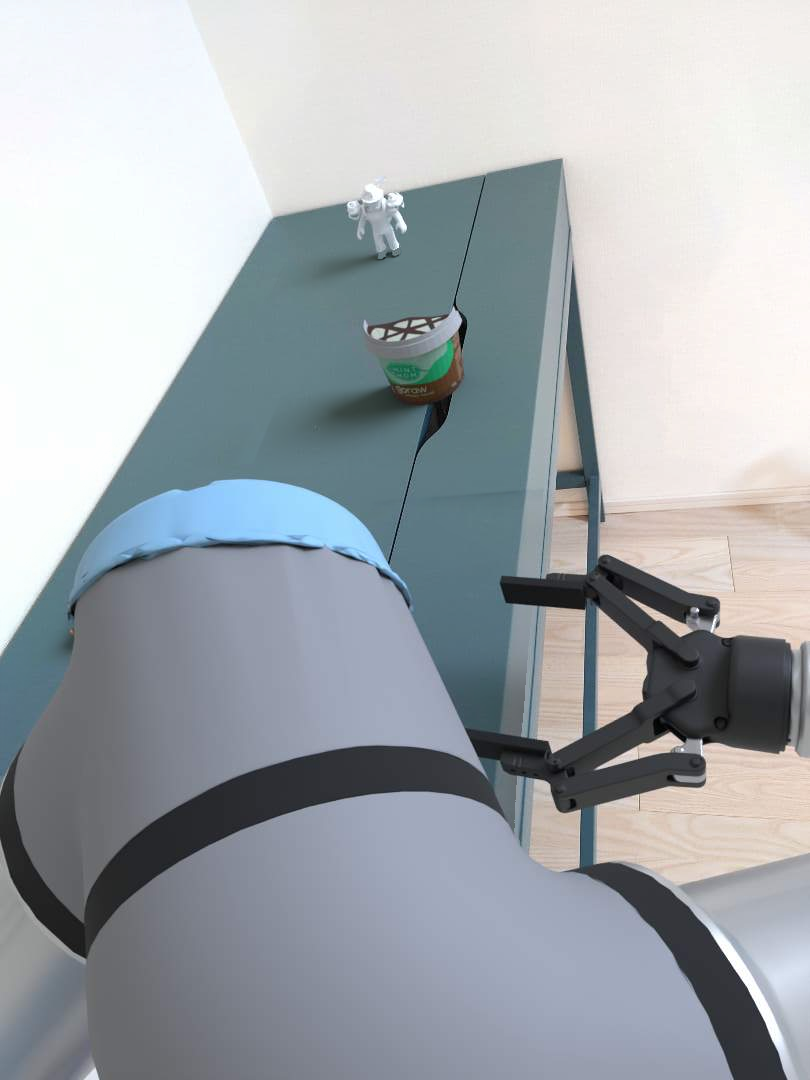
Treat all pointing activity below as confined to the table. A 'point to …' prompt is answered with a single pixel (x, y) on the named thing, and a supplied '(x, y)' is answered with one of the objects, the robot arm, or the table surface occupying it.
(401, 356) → the food container
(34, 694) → the table surface
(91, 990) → the robot arm
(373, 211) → the blocky character figurine
